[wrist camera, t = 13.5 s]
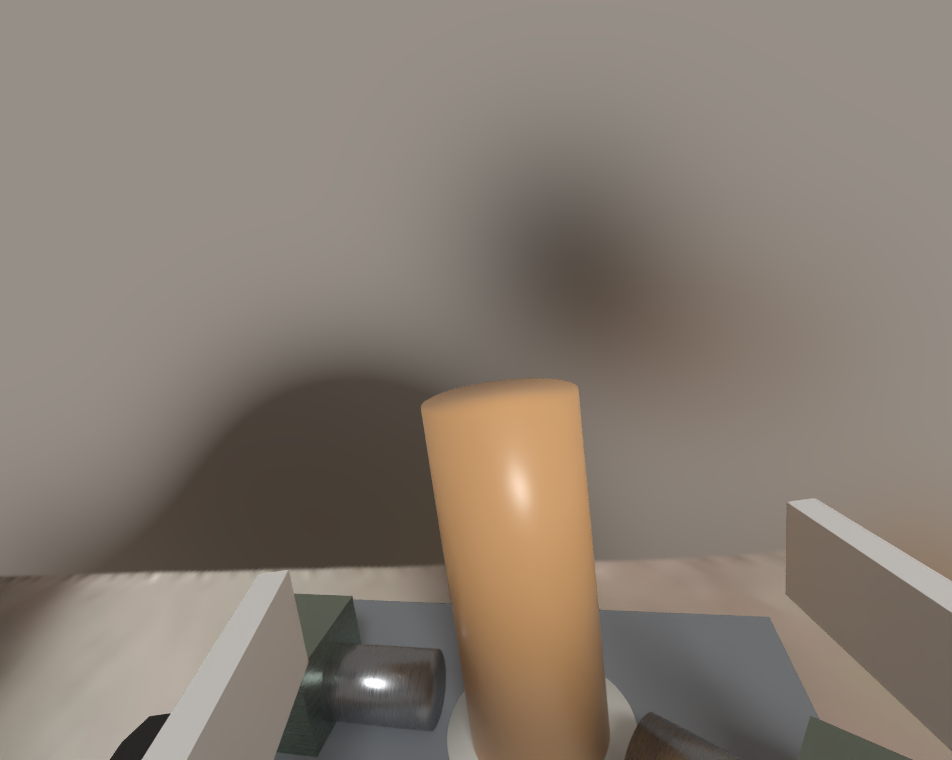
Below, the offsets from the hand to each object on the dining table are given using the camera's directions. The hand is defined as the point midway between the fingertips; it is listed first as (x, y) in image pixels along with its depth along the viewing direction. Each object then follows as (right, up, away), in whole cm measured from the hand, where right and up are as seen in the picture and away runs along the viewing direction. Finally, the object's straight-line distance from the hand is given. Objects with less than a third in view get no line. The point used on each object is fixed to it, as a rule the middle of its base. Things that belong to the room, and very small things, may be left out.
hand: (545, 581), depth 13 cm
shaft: (-7, -9, +8) cm, 14 cm away
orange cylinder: (+1, -8, +6) cm, 10 cm away
